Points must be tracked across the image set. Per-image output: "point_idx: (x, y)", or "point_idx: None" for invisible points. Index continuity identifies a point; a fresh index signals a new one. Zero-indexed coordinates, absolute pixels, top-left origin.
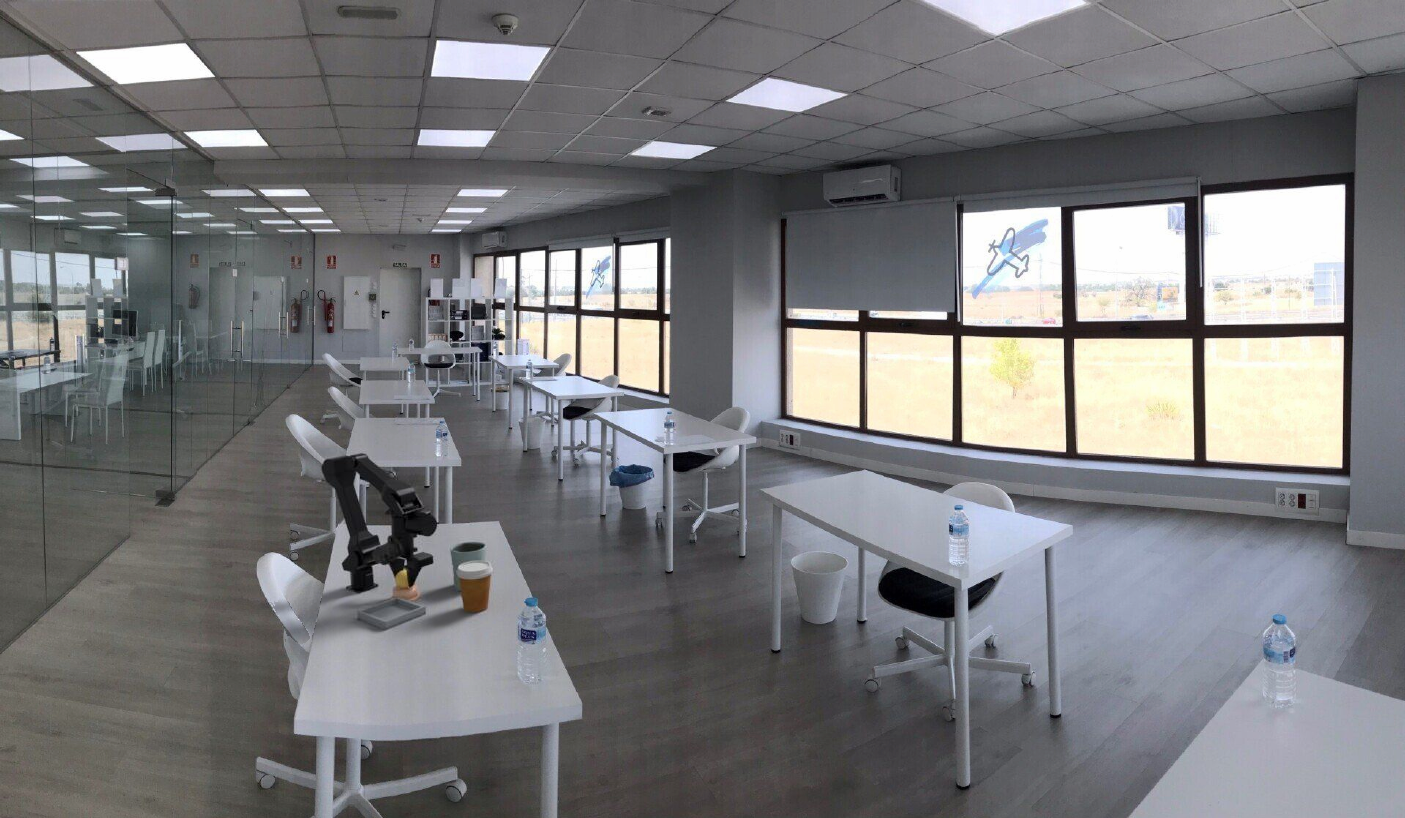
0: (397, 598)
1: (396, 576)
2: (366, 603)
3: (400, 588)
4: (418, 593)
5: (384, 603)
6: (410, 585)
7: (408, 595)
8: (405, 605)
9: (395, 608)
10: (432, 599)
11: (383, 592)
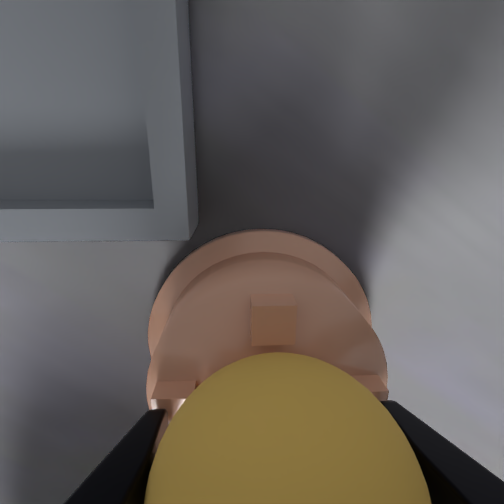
0: (142, 212)
1: (361, 478)
2: (455, 71)
3: None
4: None
5: (141, 32)
6: (137, 432)
7: (162, 332)
8: (26, 202)
9: (59, 113)
10: (72, 415)
11: (497, 304)
